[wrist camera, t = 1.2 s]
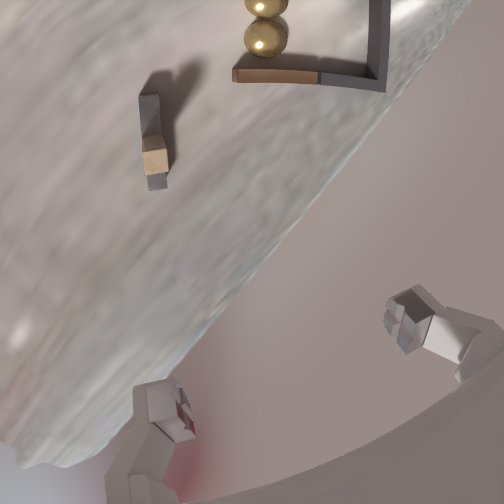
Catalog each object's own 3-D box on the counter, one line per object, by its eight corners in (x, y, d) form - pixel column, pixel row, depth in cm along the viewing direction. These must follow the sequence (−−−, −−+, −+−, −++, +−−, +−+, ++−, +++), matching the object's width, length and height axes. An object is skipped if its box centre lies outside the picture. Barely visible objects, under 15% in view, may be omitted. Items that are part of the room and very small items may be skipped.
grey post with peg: (138, 94, 27) (137, 104, 20) (157, 92, 27) (163, 100, 20) (148, 181, 33) (151, 217, 26) (165, 178, 33) (173, 213, 26)
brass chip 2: (243, 20, 25) (248, 18, 24) (281, 23, 27) (287, 21, 25) (243, 56, 28) (248, 56, 27) (280, 57, 29) (286, 57, 28)
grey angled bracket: (313, -28, 23) (324, -32, 21) (378, -8, 26) (390, -10, 24) (310, 82, 32) (321, 84, 30) (373, 89, 34) (385, 92, 33)
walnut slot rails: (233, -39, 20) (240, -46, 18) (309, -28, 23) (320, -33, 21) (232, 81, 29) (239, 82, 27) (306, 82, 32) (317, 84, 30)
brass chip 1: (244, -17, 23) (249, -20, 21) (282, -13, 24) (288, -16, 23) (243, 17, 25) (248, 15, 24) (281, 20, 26) (287, 18, 25)
